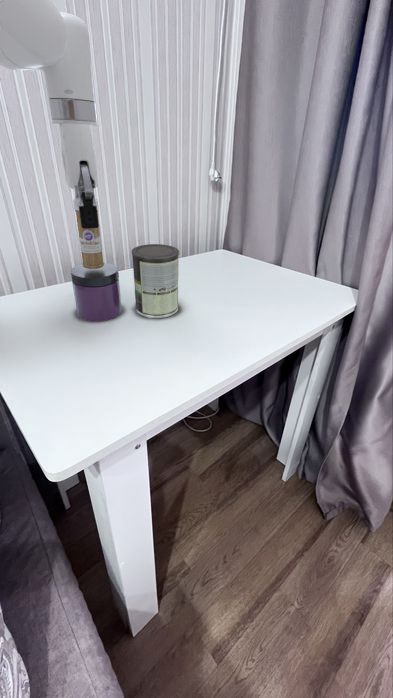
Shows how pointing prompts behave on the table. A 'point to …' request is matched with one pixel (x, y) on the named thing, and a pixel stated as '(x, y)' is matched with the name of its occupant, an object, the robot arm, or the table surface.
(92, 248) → the sprinkles bottle
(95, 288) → the jar
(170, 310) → the coffee can
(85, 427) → the table surface
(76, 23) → the robot arm
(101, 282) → the jar lid
